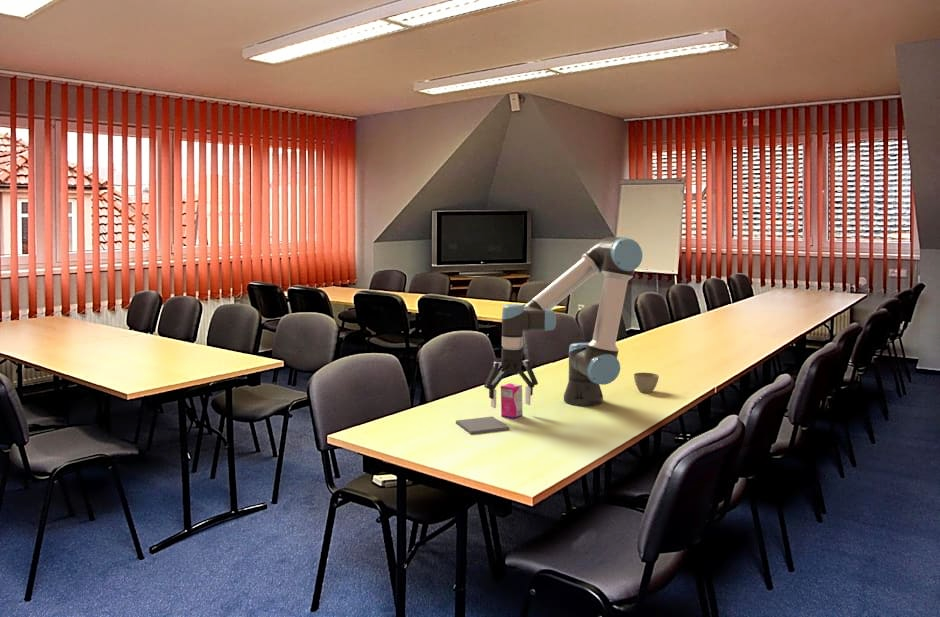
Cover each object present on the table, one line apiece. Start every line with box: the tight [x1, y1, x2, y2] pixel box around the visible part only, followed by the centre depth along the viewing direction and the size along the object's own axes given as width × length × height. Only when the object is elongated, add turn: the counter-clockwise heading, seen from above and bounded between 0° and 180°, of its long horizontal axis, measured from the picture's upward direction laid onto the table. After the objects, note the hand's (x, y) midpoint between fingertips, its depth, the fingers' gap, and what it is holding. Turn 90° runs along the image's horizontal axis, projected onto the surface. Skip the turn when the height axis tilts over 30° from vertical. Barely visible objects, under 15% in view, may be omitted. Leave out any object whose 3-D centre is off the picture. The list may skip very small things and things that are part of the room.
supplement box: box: [500, 383, 524, 420], centre depth 266 cm, size 6×6×12 cm
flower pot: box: [633, 372, 660, 394], centre depth 302 cm, size 10×10×7 cm
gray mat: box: [455, 416, 510, 435], centre depth 253 cm, size 14×14×1 cm
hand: (510, 405), depth 266 cm, fingers open, 13 cm apart
